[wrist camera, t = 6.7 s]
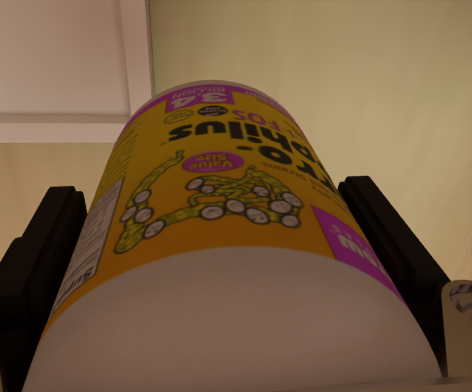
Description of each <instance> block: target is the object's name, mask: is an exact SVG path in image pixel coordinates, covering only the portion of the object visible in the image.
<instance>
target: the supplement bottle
mask: <svg viewBox="0 0 472 392" xmlns="http://www.w3.org/2000/svg"><path fill="white" fill-rule="evenodd" d="M428 378H442V376H441V372H440V369H439V366H438V363H437V360H436V357H435V355H434V353H433V351H432V349H431V347H430V345H429V342H428V340H427V339H426V337H425V335H424V333H423V332H422V330H421V328H420V326H419V325H418V323H417V321H416V320H415V318H414V316H413V315H412V313H411V311H410V310H409V308H408V306H407V305H406V303H405V301H404V300H403V298H402V297H401V295H400V293H399V292H398V290H397V288H396V287H395V285H394V283H393V282H392V280H391V278H390V277H389V275H388V274H387V272H386V270H385V269H384V267H383V265H382V264H381V262H380V261H379V259H378V257H377V256H376V254H375V252H374V251H373V249H372V247H371V245H370V244H369V242H368V240H367V239H366V237H365V235H364V234H363V232H362V230H361V228H360V227H359V225H358V224H357V222H356V220H355V219H354V217H353V216H352V214H351V212H350V210H349V208H348V206H347V204H346V203H345V202H344V200H343V198H342V197H341V195H340V193H339V192H338V190H337V189H336V187H335V185H334V184H333V182H332V180H331V178H330V177H329V175H328V173H327V172H326V170H325V168H324V167H323V165H322V163H321V162H320V160H319V158H318V157H317V155H316V153H315V152H314V150H313V148H312V146H311V145H310V143H309V142H308V140H307V138H306V137H305V135H304V133H303V132H302V130H301V129H300V127H299V126H298V124H297V123H296V122H295V120H294V119H293V117H292V116H291V115H290V114H289V113H288V111H287V110H286V109H285V108H283V107H282V106H281V105H280V104H279V103H278V102H277V101H275V100H274V99H273V98H271V97H270V96H268V95H266V94H265V93H263V92H261V91H259V90H257V89H255V88H252V87H249V86H246V85H243V84H239V83H235V82H230V81H223V80H201V81H195V82H189V83H185V84H181V85H178V86H175V87H172V88H170V89H168V90H166V91H164V92H161V93H160V94H158V95H156V96H155V97H153V98H151V99H150V100H149V101H147V102H146V103H145V104H144V105H142V106H141V107H140V108H139V109H138V110H137V111H136V112H135V113H134V114H133V115H132V117H131V118H130V119H129V121H128V122H127V123H126V125H125V126H124V128H123V130H122V132H121V133H120V135H119V137H118V139H117V141H116V143H115V145H114V148H113V150H112V153H111V155H110V157H109V160H108V162H107V165H106V167H105V170H104V173H103V176H102V178H101V180H100V183H99V186H98V188H97V191H96V194H95V197H94V199H93V201H92V204H91V206H90V209H89V212H88V214H87V217H86V219H85V222H84V225H83V228H82V231H81V233H80V236H79V239H78V242H77V245H76V247H75V250H74V252H73V255H72V258H71V261H70V263H69V266H68V269H67V271H66V274H65V276H64V279H63V281H62V284H61V287H60V289H59V292H58V294H57V297H56V300H55V302H54V305H53V308H52V310H51V313H50V316H49V318H48V321H47V324H46V326H45V329H44V331H43V333H42V336H41V338H40V341H39V343H38V346H37V349H36V352H35V355H34V358H33V360H32V363H31V366H30V369H29V372H28V375H27V378H26V381H25V384H24V386H23V389H22V392H274V391H285V390H296V389H306V388H317V387H327V386H337V385H350V384H363V383H376V382H389V381H402V380H415V379H428Z"/></svg>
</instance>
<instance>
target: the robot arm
mask: <svg viewBox="0 0 472 392" xmlns="http://www.w3.org/2000/svg"><path fill="white" fill-rule="evenodd" d="M338 192H339V193H340V195H341V197H342V198H343V200H344V202H345V203H346V204H347V206H348V208H349V210H350V212H351V214H352V216H353V217H354V219H355V220H356V222H357V224H358V225H359V227H360V228H361V230H362V232H363V234H364V235H365V237H366V239H367V240H368V242H369V244H370V245H371V247H372V249H373V251H374V252H375V254H376V256H377V257H378V259H379V261H380V262H381V264H382V265H383V267H384V269H385V270H386V272H387V274H388V275H389V277H390V278H391V280H392V282H393V283H394V285H395V287H396V288H397V290H398V292H399V293H400V295H401V297H402V298H403V300H404V301H405V303H406V305H407V306H408V308H409V310H410V311H411V313H412V315H413V316H414V318H415V320H416V321H417V323H418V325H419V326H420V328H421V330H422V332H423V333H424V335H425V337H426V339H427V340H428V342H429V345H430V347H431V349H432V351H433V353H434V355H435V357H436V360H437V363H438V366H439V369H440V372H441V376H442V378H428V379H415V380H402V381H389V382H376V383H363V384H350V385H337V386H327V387H317V388H306V389H296V390H285V391H274V392H472V281H470V280H454V281H451V280H450V279H449V278H448V276H447V275H446V274H445V273H444V271H443V270H442V269H441V267H440V266H439V265H438V264H437V262H436V261H435V260H434V259H433V257H432V256H431V255H430V253H429V252H428V251H427V250H426V248H425V247H424V246H423V244H422V243H421V242H420V241H419V239H418V238H417V237H416V236H415V234H414V233H413V232H412V230H411V229H410V228H409V227H408V225H407V224H406V223H405V221H404V220H403V219H402V218H401V216H400V215H399V214H398V213H397V211H396V210H395V209H394V207H393V206H392V205H391V204H390V202H389V201H388V200H387V199H386V197H385V196H384V195H383V193H382V192H381V191H380V190H379V188H378V187H377V186H376V184H375V183H374V182H373V181H372V179H371V178H370V177H369V176H348V177H346V179H345V182H340V183H339V185H338ZM86 217H87V209H86V204H85V199H84V195H83V192H82V191H76V189H75V187H74V186H59V187H50V188H49V189H48V191H47V193H46V194H45V196H44V198H43V200H42V201H41V203H40V205H39V207H38V208H37V210H36V212H35V214H34V216H33V217H32V219H31V221H30V223H29V224H28V226H27V228H26V230H25V232H24V233H23V235H22V237H18V238H15V239H14V240H13V242H12V243H11V245H10V246H9V248H8V250H7V251H6V253H5V255H4V257H3V258H2V260H1V262H0V392H22V389H23V386H24V384H25V381H26V378H27V375H28V372H29V369H30V366H31V363H32V360H33V358H34V355H35V352H36V349H37V346H38V343H39V341H40V338H41V336H42V333H43V331H44V329H45V326H46V324H47V321H48V318H49V316H50V313H51V310H52V308H53V305H54V302H55V300H56V297H57V294H58V292H59V289H60V287H61V284H62V281H63V279H64V276H65V274H66V271H67V269H68V266H69V263H70V261H71V258H72V255H73V252H74V250H75V247H76V245H77V242H78V239H79V236H80V233H81V231H82V228H83V225H84V222H85V219H86Z"/></svg>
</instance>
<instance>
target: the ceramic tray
mask: <svg viewBox="0 0 472 392" xmlns="http://www.w3.org/2000/svg"><path fill="white" fill-rule="evenodd" d="M153 97H155V87H154V71H153V56H152V40H151V25H150V10H149V0H0V143H116V141H117V139H118V137H119V135H120V133H121V132H122V130H123V128H124V126H125V125H126V123H127V122H128V121H129V119H130V118H131V117H132V115H133V114H134V113H135V112H136V111H137V110H138V109H139V108H140V107H141V106H142V105H144V104H145V103H146V102H147V101H149V100H150V99H151V98H153Z"/></svg>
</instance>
